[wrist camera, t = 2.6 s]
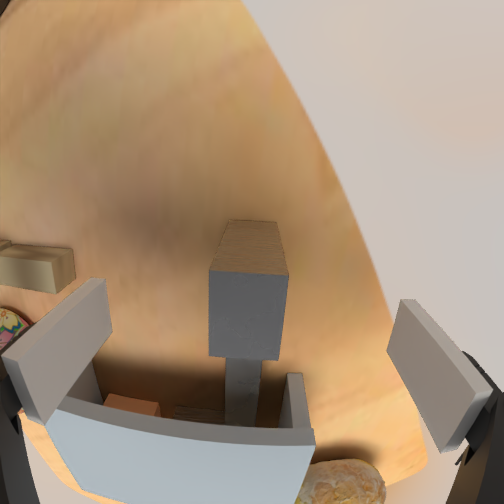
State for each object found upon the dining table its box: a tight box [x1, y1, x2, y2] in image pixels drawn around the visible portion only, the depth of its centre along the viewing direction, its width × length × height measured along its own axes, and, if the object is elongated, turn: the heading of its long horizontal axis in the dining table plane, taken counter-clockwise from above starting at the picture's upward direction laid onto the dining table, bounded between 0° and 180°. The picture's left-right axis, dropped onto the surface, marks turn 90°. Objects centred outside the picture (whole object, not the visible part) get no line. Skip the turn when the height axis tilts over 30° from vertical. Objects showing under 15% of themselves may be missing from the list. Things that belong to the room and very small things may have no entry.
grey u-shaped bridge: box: [45, 360, 316, 504], centre depth 22 cm, size 13×19×8 cm
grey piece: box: [173, 220, 289, 427], centre depth 19 cm, size 19×7×9 cm, turn 176°
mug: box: [0, 308, 29, 414], centre depth 20 cm, size 12×9×11 cm
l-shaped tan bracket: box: [0, 240, 76, 294], centre depth 19 cm, size 10×3×7 cm, turn 86°
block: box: [103, 393, 161, 417], centre depth 24 cm, size 5×5×5 cm
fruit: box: [294, 459, 386, 504], centre depth 24 cm, size 10×11×10 cm
